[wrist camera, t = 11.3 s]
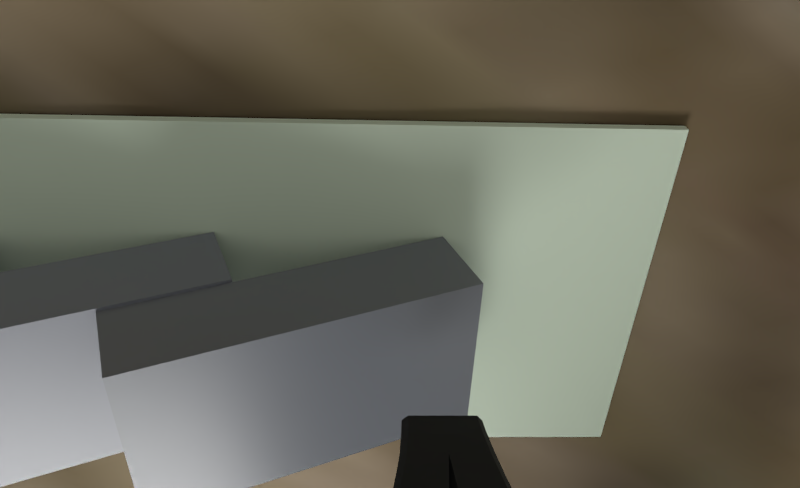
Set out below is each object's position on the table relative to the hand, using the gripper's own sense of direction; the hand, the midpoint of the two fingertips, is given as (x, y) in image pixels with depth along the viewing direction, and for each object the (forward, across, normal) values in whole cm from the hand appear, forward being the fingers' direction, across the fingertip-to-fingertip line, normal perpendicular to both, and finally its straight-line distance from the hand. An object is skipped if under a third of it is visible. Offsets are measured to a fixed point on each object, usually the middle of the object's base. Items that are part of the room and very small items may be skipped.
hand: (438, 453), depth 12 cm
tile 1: (+3, -1, 0) cm, 3 cm away
